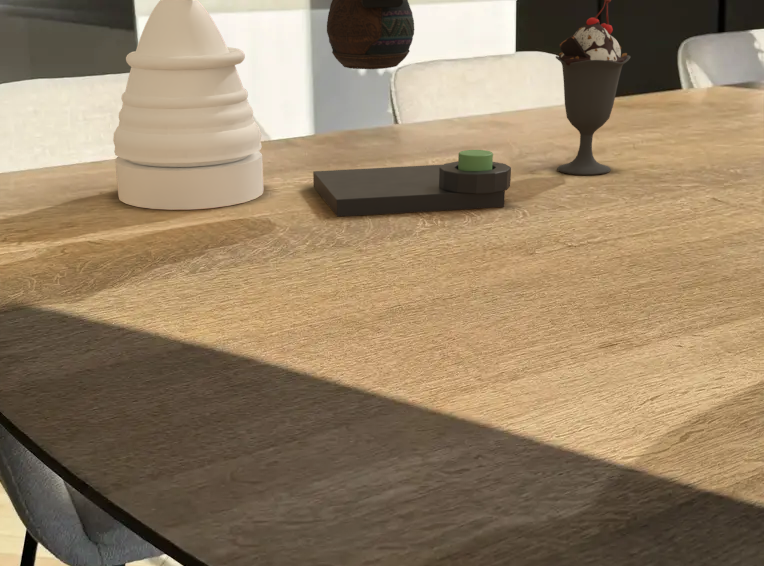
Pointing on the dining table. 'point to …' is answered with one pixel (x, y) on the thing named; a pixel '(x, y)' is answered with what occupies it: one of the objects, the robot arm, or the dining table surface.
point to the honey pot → (186, 117)
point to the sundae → (590, 87)
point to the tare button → (475, 160)
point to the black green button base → (412, 189)
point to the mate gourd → (369, 34)
